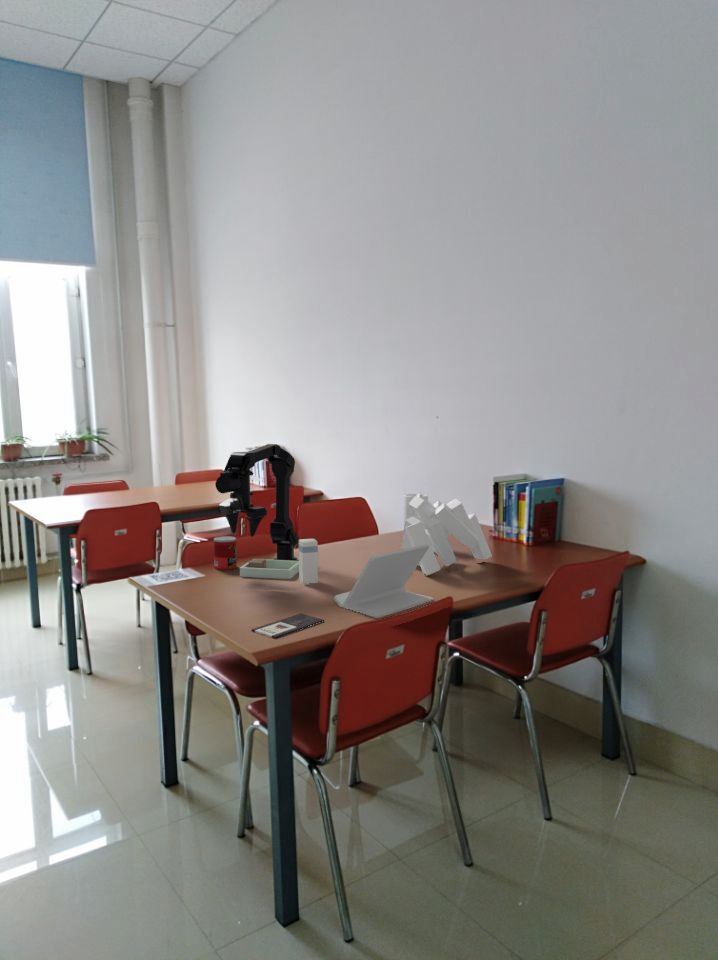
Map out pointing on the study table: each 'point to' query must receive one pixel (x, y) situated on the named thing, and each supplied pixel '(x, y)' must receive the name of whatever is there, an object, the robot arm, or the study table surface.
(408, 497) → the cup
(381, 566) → the tablet stand
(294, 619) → the chocolate bar
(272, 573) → the pale green tray
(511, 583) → the study table surface
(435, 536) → the white geometric sculpture
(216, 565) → the canned food
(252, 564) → the walnut block
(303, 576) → the carton
